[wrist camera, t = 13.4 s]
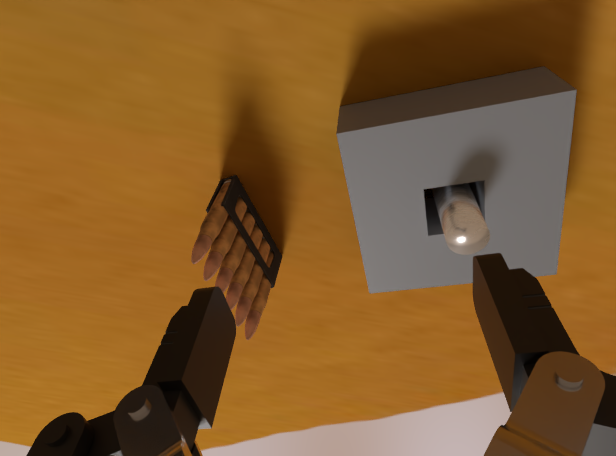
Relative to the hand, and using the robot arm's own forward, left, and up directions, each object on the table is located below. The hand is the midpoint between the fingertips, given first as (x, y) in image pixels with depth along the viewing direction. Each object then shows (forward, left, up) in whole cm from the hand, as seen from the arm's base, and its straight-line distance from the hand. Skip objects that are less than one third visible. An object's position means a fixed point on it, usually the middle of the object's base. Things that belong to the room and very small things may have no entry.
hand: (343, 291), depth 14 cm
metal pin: (+7, -10, -26) cm, 29 cm away
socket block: (+6, -10, -26) cm, 28 cm away
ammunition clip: (-13, -12, -26) cm, 31 cm away
